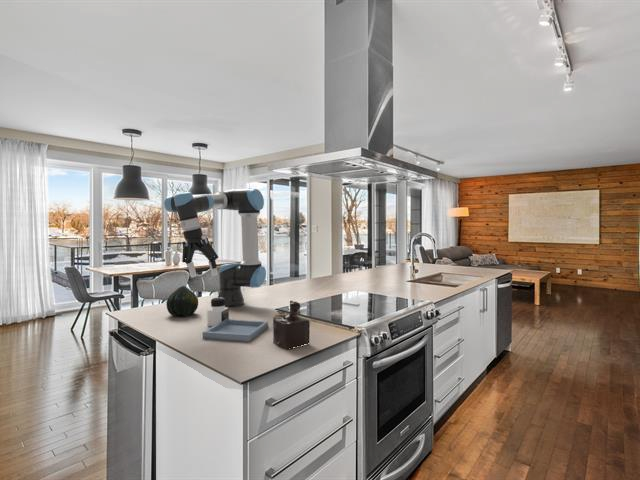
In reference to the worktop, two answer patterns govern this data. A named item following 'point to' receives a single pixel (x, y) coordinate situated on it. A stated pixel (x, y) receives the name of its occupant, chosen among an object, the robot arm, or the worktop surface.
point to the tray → (235, 330)
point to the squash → (182, 302)
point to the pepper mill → (291, 328)
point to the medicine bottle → (217, 312)
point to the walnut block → (278, 316)
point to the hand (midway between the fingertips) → (204, 276)
